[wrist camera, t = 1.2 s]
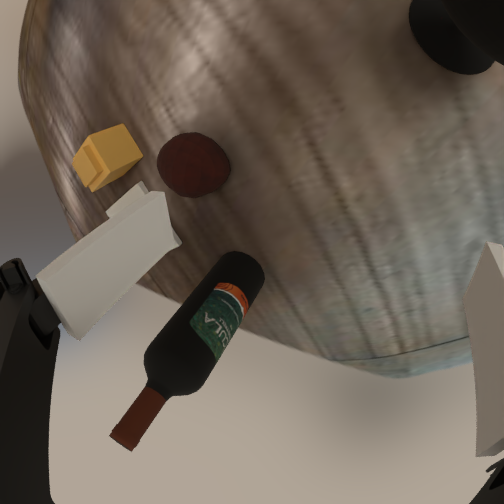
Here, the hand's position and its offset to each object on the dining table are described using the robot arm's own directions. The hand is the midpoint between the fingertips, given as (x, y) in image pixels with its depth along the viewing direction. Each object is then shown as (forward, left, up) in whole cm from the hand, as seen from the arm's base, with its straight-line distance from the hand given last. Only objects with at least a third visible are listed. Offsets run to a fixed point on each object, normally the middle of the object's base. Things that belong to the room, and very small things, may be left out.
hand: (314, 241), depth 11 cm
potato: (-6, -18, -23) cm, 29 cm away
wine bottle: (+11, -24, -23) cm, 35 cm away
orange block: (-15, -31, -23) cm, 41 cm away
